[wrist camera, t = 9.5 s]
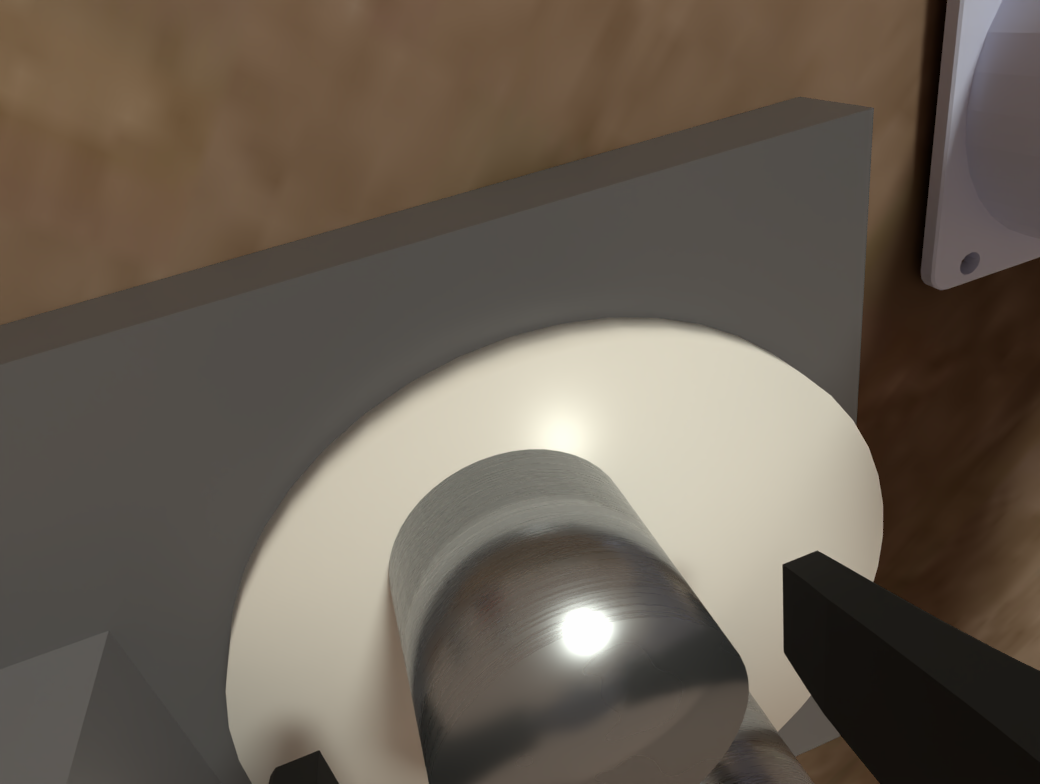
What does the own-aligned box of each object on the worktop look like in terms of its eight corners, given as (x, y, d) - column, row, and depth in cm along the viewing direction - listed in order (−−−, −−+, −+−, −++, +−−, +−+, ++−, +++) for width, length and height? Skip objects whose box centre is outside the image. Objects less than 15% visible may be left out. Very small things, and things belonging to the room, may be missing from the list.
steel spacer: (602, 409, 12) (732, 565, 9) (645, 589, 14) (760, 768, 11) (347, 513, 11) (377, 723, 8) (436, 683, 14) (489, 901, 10)
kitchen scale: (799, 96, 14) (1108, 142, 9) (797, 683, 23) (946, 873, 18) (-374, 432, 11) (-977, 815, 5) (168, 954, 20) (131, 1279, 15)
